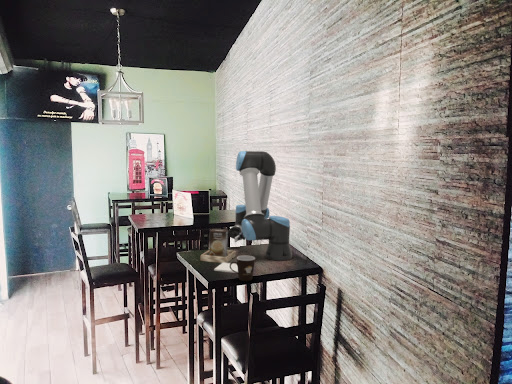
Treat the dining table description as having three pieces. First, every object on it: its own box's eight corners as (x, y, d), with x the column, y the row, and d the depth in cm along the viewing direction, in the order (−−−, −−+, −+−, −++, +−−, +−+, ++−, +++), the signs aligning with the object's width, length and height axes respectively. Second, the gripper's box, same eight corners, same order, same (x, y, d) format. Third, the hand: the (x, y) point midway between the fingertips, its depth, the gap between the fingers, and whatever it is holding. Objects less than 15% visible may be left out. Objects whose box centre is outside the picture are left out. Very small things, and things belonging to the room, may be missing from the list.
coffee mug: (254, 276, 184) (255, 255, 183) (254, 282, 176) (254, 260, 175) (230, 275, 185) (231, 255, 184) (229, 281, 176) (229, 260, 175)
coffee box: (209, 259, 211) (209, 230, 209) (211, 256, 217) (211, 228, 215) (225, 260, 210) (226, 231, 208) (227, 257, 216) (228, 229, 214)
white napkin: (248, 266, 199) (248, 265, 199) (240, 273, 188) (240, 271, 188) (222, 263, 203) (222, 262, 203) (214, 270, 192) (214, 268, 192)
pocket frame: (235, 256, 218) (235, 251, 218) (226, 263, 204) (226, 257, 204) (211, 253, 223) (211, 248, 222) (200, 260, 208) (200, 255, 208)
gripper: (255, 239, 238) (244, 247, 218) (217, 236, 245) (204, 243, 225) (255, 227, 237) (244, 234, 217) (217, 224, 244) (204, 230, 224)
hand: (224, 239), depth 221 cm, fingers open, 13 cm apart
